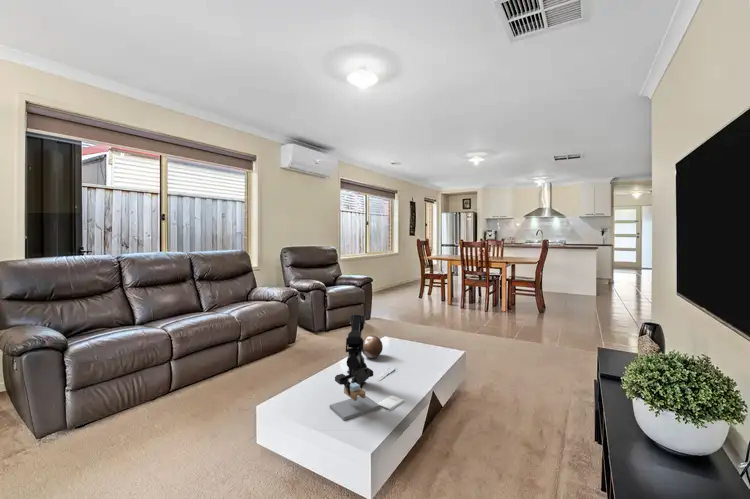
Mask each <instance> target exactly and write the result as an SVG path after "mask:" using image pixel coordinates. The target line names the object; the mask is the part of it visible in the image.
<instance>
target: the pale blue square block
mask: <svg viewBox="0 0 750 499" xmlns="http://www.w3.org/2000/svg"><path fill="white" fill-rule="evenodd" d="M350 390H351V391H356V390H360V385H359V384H357V383H351V384H350Z"/></svg>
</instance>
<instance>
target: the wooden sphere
mask: <svg viewBox="0 0 750 499" xmlns="http://www.w3.org/2000/svg"><path fill="white" fill-rule="evenodd" d="M363 341H364V342H363V350H362V355H364V357H367V358H369V359H375V358H377V357H379V356H380V355H381V354H382V352H383V342H382V340H381V339H380V338H379V337H378V336H377V335H376V336H375V335H367V336H366V337H364V338H363Z"/></svg>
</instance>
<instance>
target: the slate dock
mask: <svg viewBox="0 0 750 499" xmlns="http://www.w3.org/2000/svg"><path fill="white" fill-rule="evenodd" d="M377 403H378V402H376V401H374V400H373V399H371V398H370V397H369V396H367V395H366V394H365V398H362V397H360V396H357V400H356V401H354V400H353V399H351V398H349V399H348V398H347V399H346V400H342V401H339V402H335V403H332V404H329V409H330V410H331V411H332V412H334V413H335V414H336V415H337V416H338V417H339V418H340V419H341V420H342V421H347V420H349V419H352V418H355V417H358V416H362V415H364V414H367V413H370V412H373V411H377V410H379V409H381V407H380V405H379V404H377Z"/></svg>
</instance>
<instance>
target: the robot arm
mask: <svg viewBox="0 0 750 499" xmlns="http://www.w3.org/2000/svg"><path fill="white" fill-rule="evenodd" d="M349 324H350V326H351V327H350V328H351V331H350V332H349V333H347V337H346V341H345V353H348V356H347V358H346V367H347V368H348V370H347V371H346V372H347V374H346V375H345V374H344V373H339V374H336V375H335V377H334V382H336V383H338V385H340V386H341V385H342V386H344V387H345V388H346V391H347V393H348V395H350V384H352V383H357V384H359V385H360V388H361V389H363V387H364V385H365V384H367V382H366V381H367V380H369V378H371V377H374V371H373V369H371V368H369V367H368V365H367V363H366V362H365V358H364V357H365V356H363V353H362V350H363V342H364V341H363V340H364V338H363V337H362V332H363V330H364V327H365V324H366V316H365V315H362V314H354V313H353V314H352V315H350V316H349ZM350 380H351V381H350Z"/></svg>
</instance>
